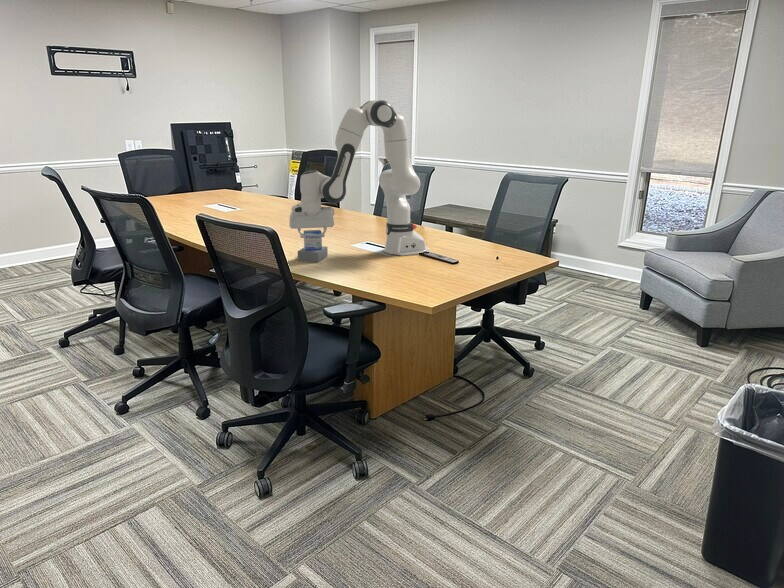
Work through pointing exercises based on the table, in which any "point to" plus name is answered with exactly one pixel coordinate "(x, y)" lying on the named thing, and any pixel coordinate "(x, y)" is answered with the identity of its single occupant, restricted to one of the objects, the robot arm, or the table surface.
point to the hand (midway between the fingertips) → (312, 237)
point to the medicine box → (312, 240)
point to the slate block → (312, 255)
